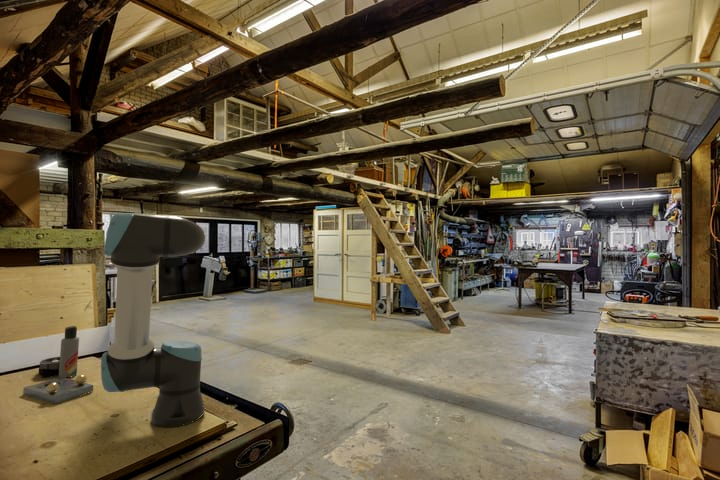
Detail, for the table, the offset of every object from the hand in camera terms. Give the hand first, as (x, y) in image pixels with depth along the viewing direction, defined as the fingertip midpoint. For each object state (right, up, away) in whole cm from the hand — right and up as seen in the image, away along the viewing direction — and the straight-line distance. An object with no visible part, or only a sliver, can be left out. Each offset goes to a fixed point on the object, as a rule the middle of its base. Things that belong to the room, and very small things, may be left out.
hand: (138, 322), depth 140 cm
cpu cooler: (-40, -23, +9) cm, 47 cm away
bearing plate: (-22, -23, -11) cm, 34 cm away
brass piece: (-16, -19, -9) cm, 26 cm away
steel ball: (-25, -21, -10) cm, 34 cm away
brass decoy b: (-19, -19, -17) cm, 32 cm away
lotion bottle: (-32, -23, +6) cm, 40 cm away
